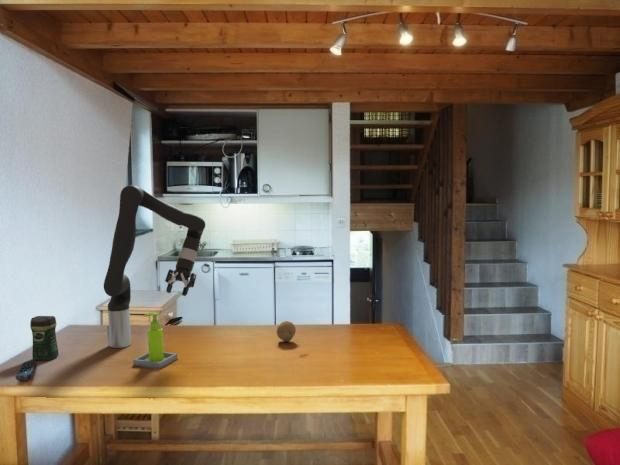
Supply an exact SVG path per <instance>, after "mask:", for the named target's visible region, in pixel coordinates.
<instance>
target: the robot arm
mask: <svg viewBox="0 0 620 465" xmlns="http://www.w3.org/2000/svg"><path fill="white" fill-rule="evenodd" d="M139 207H143V208H144V209H147V210H150V211H152V212H153V213H155V214H156V215H157V216H160V218H161V217H162V218H163V219H164V220H166V221H169V222H170V223H173V224H174V225H177V226H183V227H185V228H187V231H186V236H185V238H184V240H183V243H182V247H181V250H180V252H179V255H178V258H177V261H176V264H175V269H174V270H173V269H171V268H170V269H169V270H168V271H167V274H166V277H165V279H164V281H165V282H166V283H167V287H166V289H165V290H166V293H169V294H170V293H171V292H172V289H173V286H174V284H175V283H177V282H182V283H183V284H184V286H183V290H182V292H181V296H183V297H186V296H187V295H188V293H189V290H190V288H194V286H195V283H196V279H197V274H196V273H193V269H194V266H195V262H196V259H197V254H198V251H199V247H200V241H201V238H202V235H203V232H204V230H205V228H206V222H205V220H204V219H203V218H202V217H200V216H198V215H195V214H193V213H189V212H186V211H184V210H182V209H180V208H178V207H176V206H174V205H171V204H170V203H168V202H165V201H163V200H161V199H159V198H157V197H156V196H154V195H152V194H150V193H149V192H148V191H146V190H145V189H144V188H142V187H140V185H137V184H130V185H129V184H128V185H126V186H124V187H123V188H122V190H121V191H120V195H119V209H118V217H117V221H116V224H115V229H114V232H113V233H114V234H113V239H112V245H111V252H110V257H109V264H108V268H107V272H106V274H105V278H104V281H103V290H104V292H105V294H106V295H107V296H109V297H110V300H109V302H108V304H107V316H108V318H107V319H108V325H107V326H106V331H107V332H106V334H107V335H106V336H107V346H108V347H110V348H112V349H122V348H126V347H129V346H130V345H131V344H132V340H131V335H132V334H131V320H130V319H131V317H130V316H131V315H130V314H131V313H130V304H131V300H132V299H131V297H132V296H131V293H132V291H131V281H130V279H129V277H128V276H127V275H126V274H125V268H126V265H127V263H128V262H129V260H130V258H131V256H132V254H133V251H134V249H135V244H136V243H135V242H136V236H137V226H136V225H137V224H136V222H137V221H136V219H137V214H138V209H139Z"/></svg>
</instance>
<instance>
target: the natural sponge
mask: <svg viewBox="0 0 620 465" xmlns="http://www.w3.org/2000/svg"><path fill="white" fill-rule="evenodd" d="M296 332H297V330H296V326H295V325H294V323H293V322H291V321H287V320H285V321H283V322H281V323H280V324H279V325H278V326H277V328H276V334H277V338H279V339H280V340H282V341H283V342H285V343H289V342H291V340H292V339H293V338H294V337H295V334H296Z"/></svg>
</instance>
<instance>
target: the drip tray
mask: <svg viewBox="0 0 620 465" xmlns="http://www.w3.org/2000/svg"><path fill="white" fill-rule="evenodd" d="M163 352H164V360H162V361H160V362H153V361H149V351H148V352H146V353H144V354H142V355H140V356H138V357H136V358H134V359H132V364H133V366H135V367H142V368H147V369H156V370H161V369H163V368H164V367H166V366H168V365H171V364H172V363H173V362H175V361H176V360H178V353H175V352H168V351H163Z"/></svg>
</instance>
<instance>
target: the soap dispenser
mask: <svg viewBox="0 0 620 465" xmlns="http://www.w3.org/2000/svg"><path fill="white" fill-rule="evenodd" d="M143 316H144V317H149V316H152V320H151V321H150V328H149V329H147V338H148V340H147V341H148V342H147V343H148V344H147V345H148V346H147V347H148V352H149V361H153V362H160V361H162V360H164V352H165V351H164V333H163V330H164V329H163V327H160V320H158V316H159V312H150V313H149V312H148V313H145V314H144V315H143Z"/></svg>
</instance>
